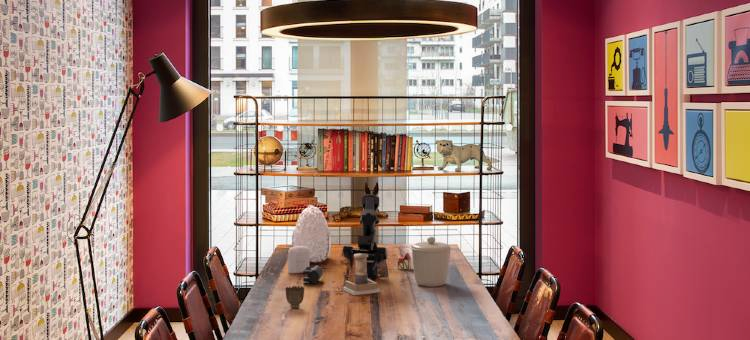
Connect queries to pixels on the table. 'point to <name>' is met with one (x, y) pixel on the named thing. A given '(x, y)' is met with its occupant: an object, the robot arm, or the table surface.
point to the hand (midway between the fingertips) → (361, 269)
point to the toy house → (404, 262)
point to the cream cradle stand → (361, 288)
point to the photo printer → (298, 259)
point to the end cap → (312, 275)
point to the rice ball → (312, 234)
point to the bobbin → (361, 269)
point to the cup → (294, 296)
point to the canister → (431, 262)
